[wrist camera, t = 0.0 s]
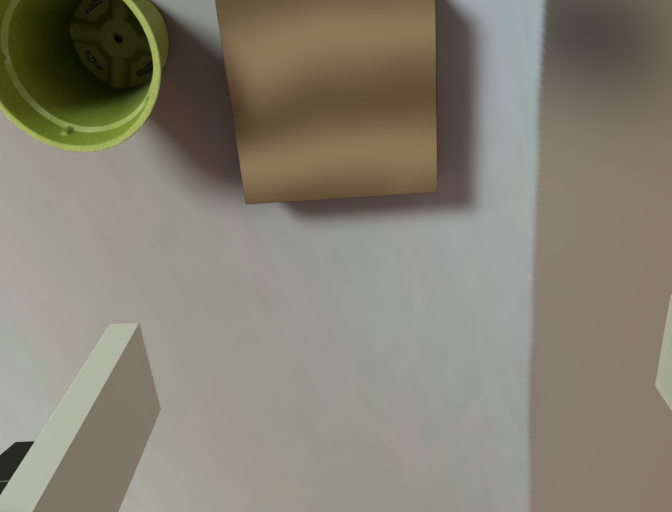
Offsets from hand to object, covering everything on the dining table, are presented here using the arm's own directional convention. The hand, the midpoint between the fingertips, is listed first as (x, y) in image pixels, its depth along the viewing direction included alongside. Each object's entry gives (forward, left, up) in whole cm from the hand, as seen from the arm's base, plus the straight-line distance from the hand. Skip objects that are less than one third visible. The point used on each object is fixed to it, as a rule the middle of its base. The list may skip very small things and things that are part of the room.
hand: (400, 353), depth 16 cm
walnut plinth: (-1, -2, -28) cm, 28 cm away
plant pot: (-5, -15, -28) cm, 33 cm away
